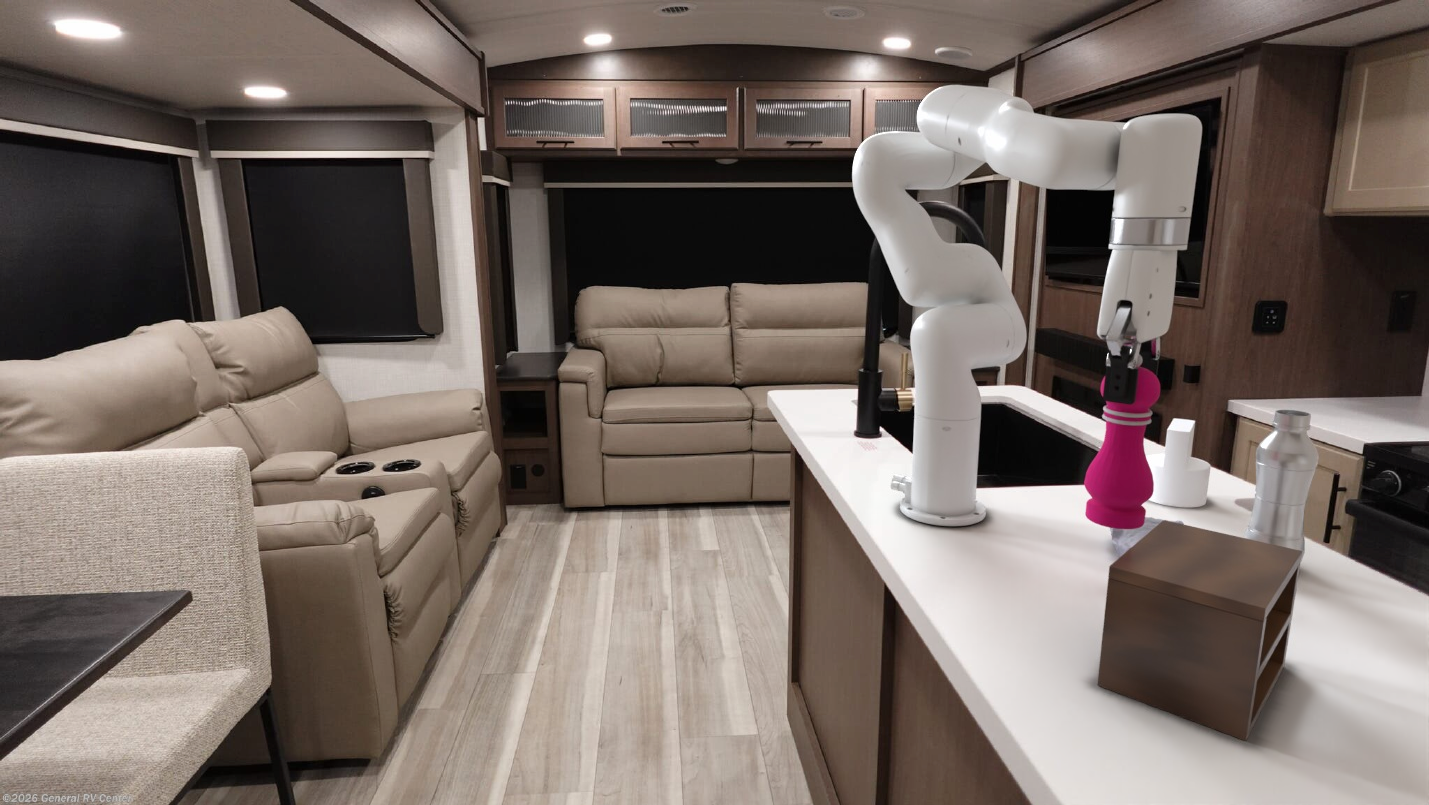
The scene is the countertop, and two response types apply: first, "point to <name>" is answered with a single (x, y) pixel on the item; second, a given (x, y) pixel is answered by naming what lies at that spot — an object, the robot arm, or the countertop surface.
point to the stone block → (1133, 535)
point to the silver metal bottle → (1283, 481)
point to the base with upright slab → (1179, 469)
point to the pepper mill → (1123, 460)
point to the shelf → (1199, 624)
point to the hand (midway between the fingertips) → (1129, 395)
